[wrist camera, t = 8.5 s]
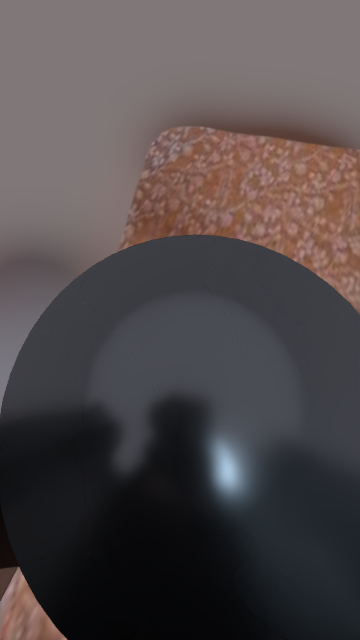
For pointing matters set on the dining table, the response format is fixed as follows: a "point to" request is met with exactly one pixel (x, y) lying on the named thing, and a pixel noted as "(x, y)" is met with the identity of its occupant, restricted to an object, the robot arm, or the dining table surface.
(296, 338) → the dark grey metal cylinder
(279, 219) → the dining table surface
